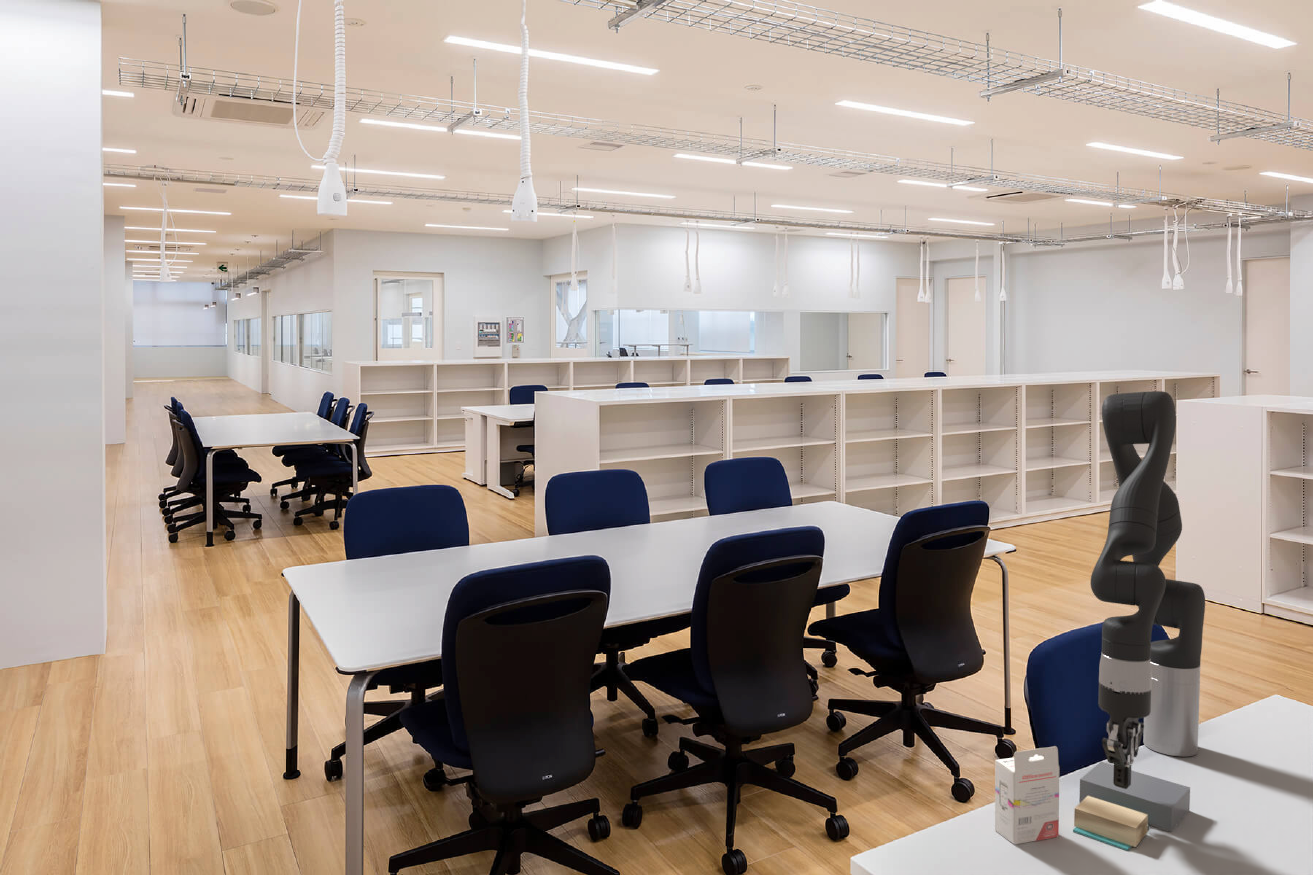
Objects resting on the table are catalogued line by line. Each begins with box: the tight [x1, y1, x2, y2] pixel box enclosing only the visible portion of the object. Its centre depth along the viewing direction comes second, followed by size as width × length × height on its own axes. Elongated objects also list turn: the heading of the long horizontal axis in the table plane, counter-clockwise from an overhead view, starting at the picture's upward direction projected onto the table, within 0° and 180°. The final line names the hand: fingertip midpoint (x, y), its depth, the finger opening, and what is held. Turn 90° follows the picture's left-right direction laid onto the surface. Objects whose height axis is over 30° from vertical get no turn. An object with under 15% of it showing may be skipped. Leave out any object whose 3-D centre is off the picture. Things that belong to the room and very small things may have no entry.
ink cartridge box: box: [994, 745, 1060, 845], centre depth 136 cm, size 9×5×15 cm, turn 105°
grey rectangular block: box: [1079, 761, 1191, 833], centre depth 145 cm, size 10×14×4 cm
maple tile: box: [1073, 796, 1149, 848], centre depth 137 cm, size 6×9×3 cm, turn 45°
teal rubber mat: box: [1072, 826, 1132, 852], centre depth 138 cm, size 10×8×1 cm
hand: (1121, 785), depth 141 cm, fingers closed
